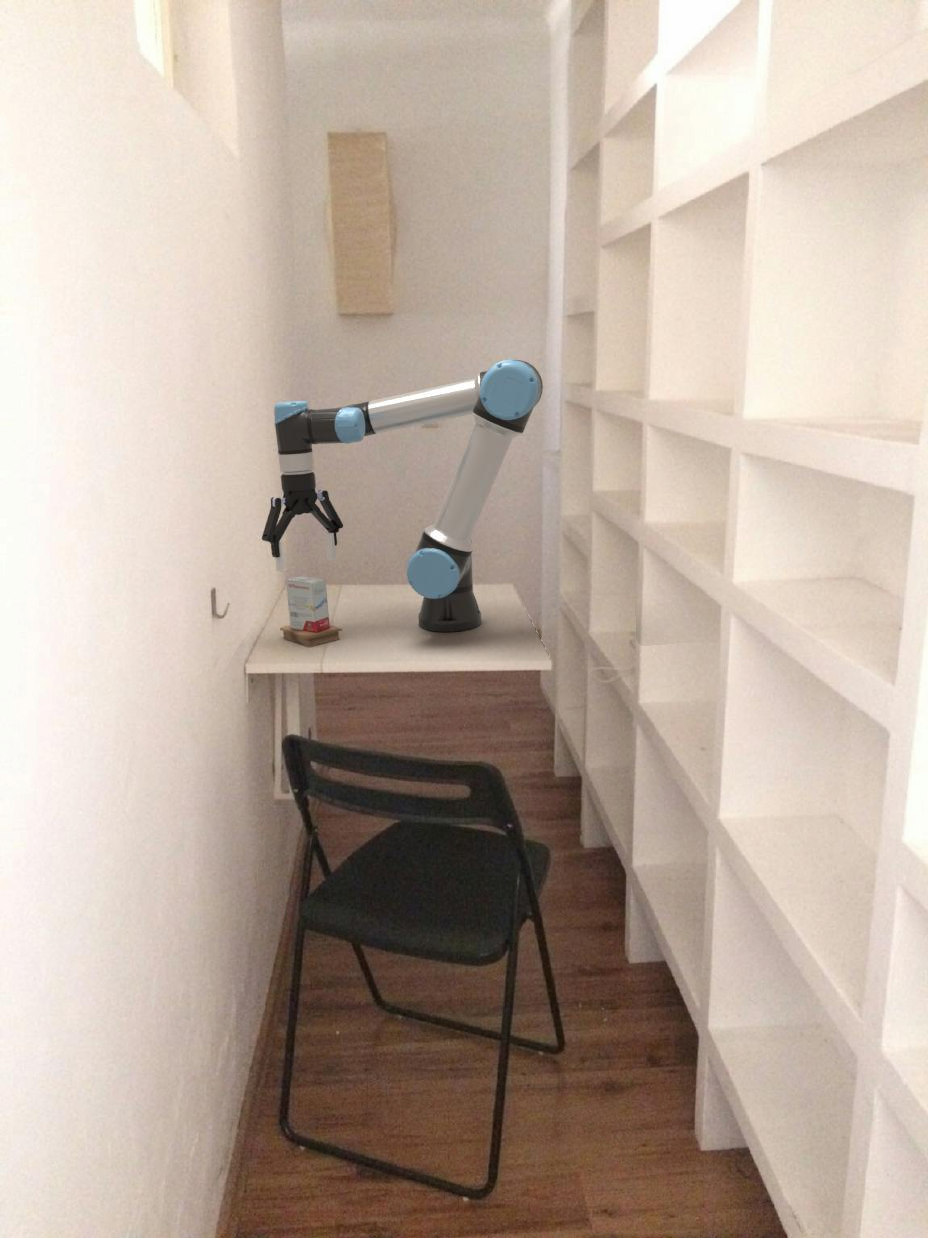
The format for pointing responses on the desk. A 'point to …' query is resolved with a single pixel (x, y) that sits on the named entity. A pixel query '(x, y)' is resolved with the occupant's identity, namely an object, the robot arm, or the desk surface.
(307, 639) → the walnut stand
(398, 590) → the desk surface
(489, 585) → the desk surface
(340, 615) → the desk surface
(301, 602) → the ink box
